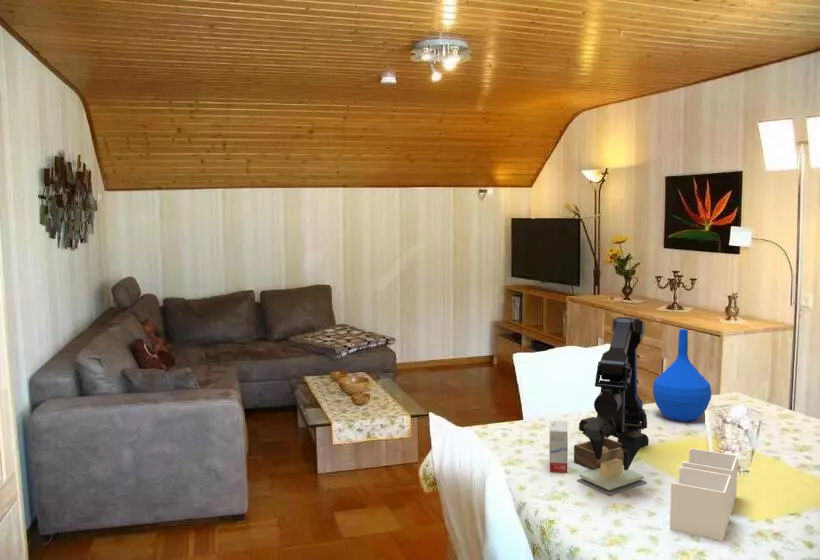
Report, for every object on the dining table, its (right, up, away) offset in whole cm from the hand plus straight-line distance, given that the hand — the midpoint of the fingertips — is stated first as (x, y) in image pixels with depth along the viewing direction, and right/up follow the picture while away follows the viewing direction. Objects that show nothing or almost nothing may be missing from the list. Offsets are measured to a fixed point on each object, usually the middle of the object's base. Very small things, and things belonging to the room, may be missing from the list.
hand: (611, 464), depth 182 cm
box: (+1, -3, +14) cm, 14 cm away
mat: (0, -5, +1) cm, 5 cm away
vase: (+39, +2, +53) cm, 66 cm away
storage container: (+17, -7, -18) cm, 25 cm away
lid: (0, -4, 0) cm, 4 cm away
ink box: (-12, -4, +12) cm, 17 cm away
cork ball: (+2, -1, +16) cm, 17 cm away
